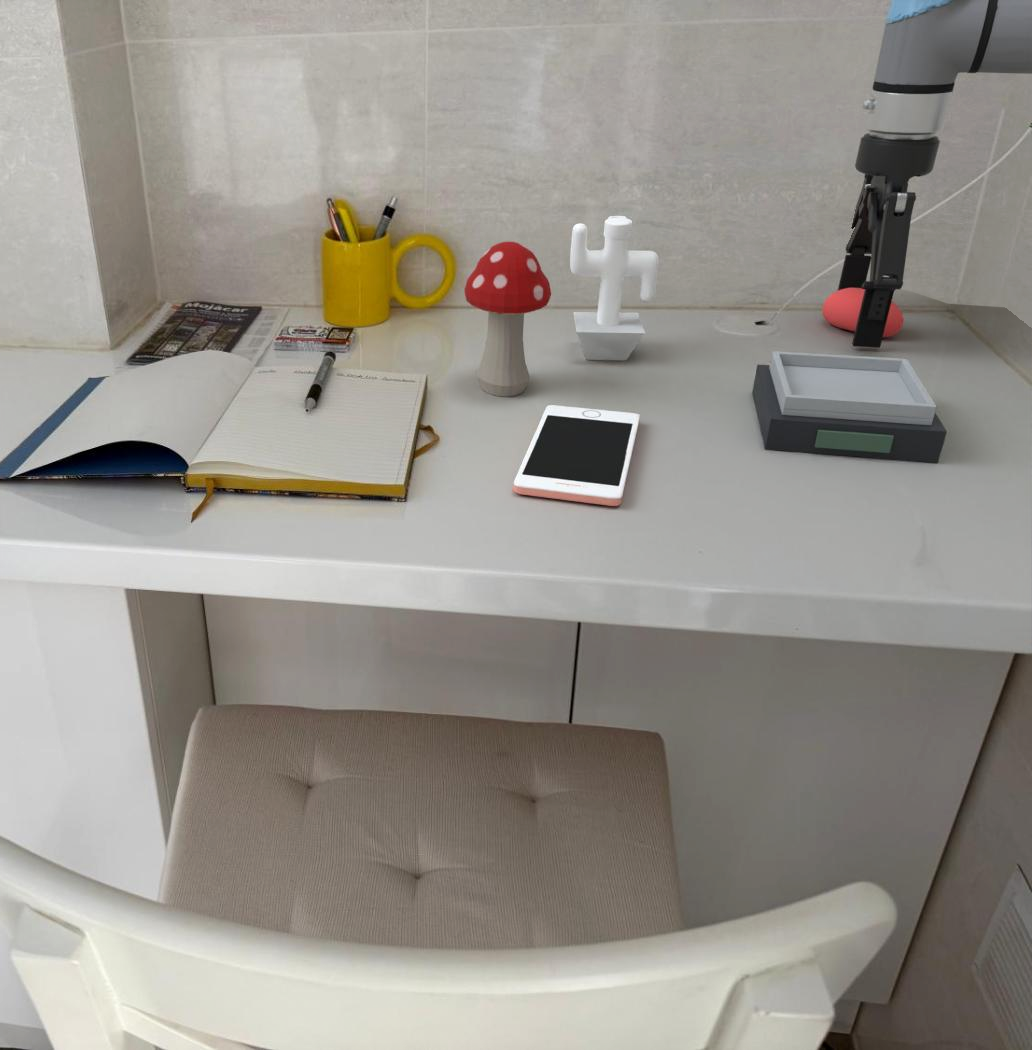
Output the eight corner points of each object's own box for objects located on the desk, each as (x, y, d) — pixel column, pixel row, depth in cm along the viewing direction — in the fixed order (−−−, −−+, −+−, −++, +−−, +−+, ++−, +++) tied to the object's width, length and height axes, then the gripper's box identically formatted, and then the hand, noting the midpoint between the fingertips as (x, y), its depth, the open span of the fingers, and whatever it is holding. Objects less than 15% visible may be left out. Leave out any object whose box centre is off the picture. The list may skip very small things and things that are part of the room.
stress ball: (850, 355, 113) (893, 311, 109) (803, 307, 118) (842, 263, 114) (876, 362, 115) (918, 319, 112) (829, 314, 121) (868, 272, 117)
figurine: (651, 365, 109) (669, 226, 101) (563, 363, 110) (575, 226, 103) (643, 343, 115) (660, 211, 107) (560, 342, 116) (571, 211, 109)
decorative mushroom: (554, 401, 101) (566, 253, 93) (470, 406, 100) (475, 257, 93) (532, 367, 109) (541, 229, 102) (454, 371, 109) (458, 233, 102)
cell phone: (639, 422, 95) (640, 413, 95) (620, 508, 80) (621, 497, 80) (546, 412, 98) (547, 403, 97) (511, 494, 83) (512, 484, 83)
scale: (904, 402, 97) (916, 355, 95) (938, 464, 86) (953, 413, 83) (752, 392, 101) (760, 347, 99) (765, 450, 89) (774, 401, 87)
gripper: (844, 117, 117) (807, 294, 127) (885, 153, 96) (836, 361, 106) (914, 117, 115) (871, 297, 125) (972, 154, 94) (914, 365, 105)
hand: (855, 327), depth 116 cm, fingers open, 13 cm apart
